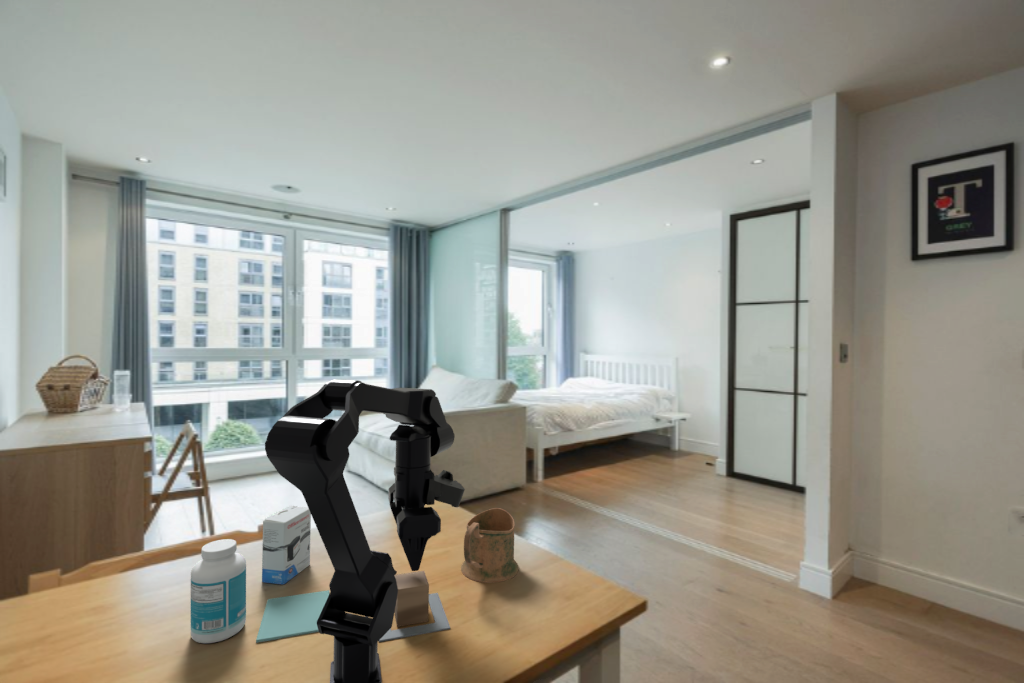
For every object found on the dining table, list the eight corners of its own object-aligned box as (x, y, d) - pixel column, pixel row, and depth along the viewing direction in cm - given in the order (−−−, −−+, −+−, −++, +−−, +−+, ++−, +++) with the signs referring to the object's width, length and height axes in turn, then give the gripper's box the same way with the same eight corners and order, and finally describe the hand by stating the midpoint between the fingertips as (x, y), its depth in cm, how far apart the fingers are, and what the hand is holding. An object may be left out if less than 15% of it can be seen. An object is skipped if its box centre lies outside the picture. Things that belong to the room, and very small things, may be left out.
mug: (436, 592, 88) (437, 526, 88) (474, 552, 104) (475, 497, 104) (495, 604, 84) (497, 536, 84) (525, 561, 101) (526, 503, 101)
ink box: (283, 585, 89) (284, 522, 89) (260, 582, 90) (261, 519, 90) (311, 564, 98) (312, 506, 97) (290, 562, 99) (290, 504, 98)
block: (428, 621, 78) (428, 584, 78) (397, 626, 77) (397, 589, 77) (423, 605, 83) (424, 570, 83) (393, 610, 82) (394, 574, 82)
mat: (327, 630, 76) (327, 628, 76) (255, 642, 72) (256, 640, 72) (329, 592, 87) (329, 590, 87) (267, 601, 84) (267, 599, 84)
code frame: (450, 629, 77) (450, 627, 77) (378, 642, 73) (378, 640, 73) (437, 594, 87) (437, 592, 87) (374, 604, 83) (374, 602, 83)
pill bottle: (234, 612, 80) (236, 531, 80) (253, 629, 76) (255, 543, 76) (182, 632, 75) (183, 545, 75) (199, 653, 70) (201, 560, 70)
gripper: (474, 475, 74) (472, 577, 74) (449, 449, 91) (447, 531, 91) (400, 481, 70) (398, 588, 70) (389, 452, 88) (387, 538, 88)
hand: (411, 557), depth 80 cm, fingers open, 9 cm apart
